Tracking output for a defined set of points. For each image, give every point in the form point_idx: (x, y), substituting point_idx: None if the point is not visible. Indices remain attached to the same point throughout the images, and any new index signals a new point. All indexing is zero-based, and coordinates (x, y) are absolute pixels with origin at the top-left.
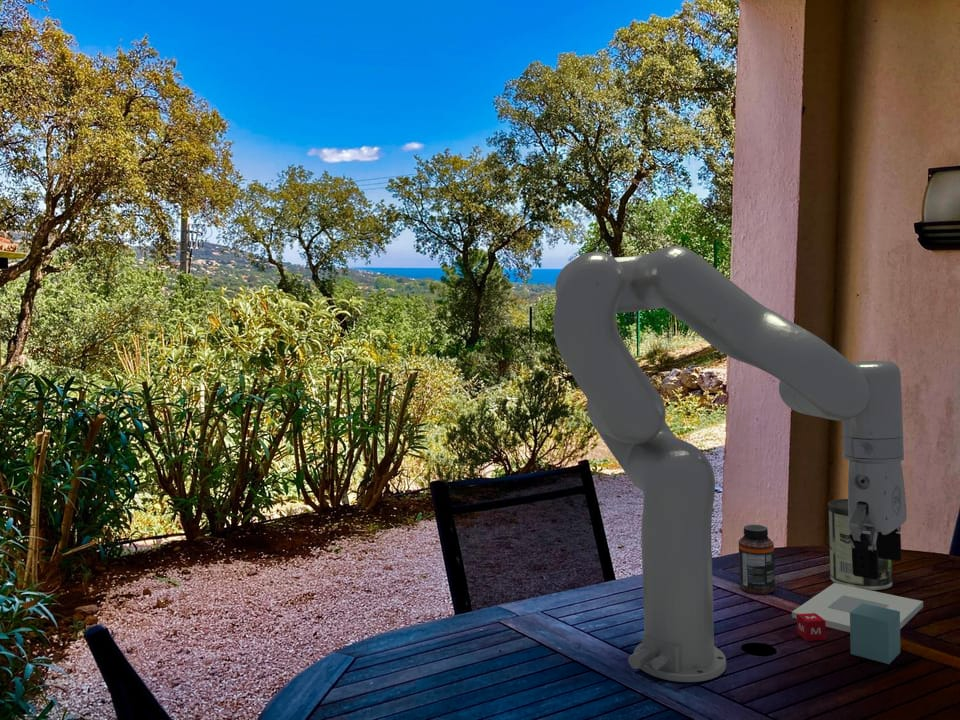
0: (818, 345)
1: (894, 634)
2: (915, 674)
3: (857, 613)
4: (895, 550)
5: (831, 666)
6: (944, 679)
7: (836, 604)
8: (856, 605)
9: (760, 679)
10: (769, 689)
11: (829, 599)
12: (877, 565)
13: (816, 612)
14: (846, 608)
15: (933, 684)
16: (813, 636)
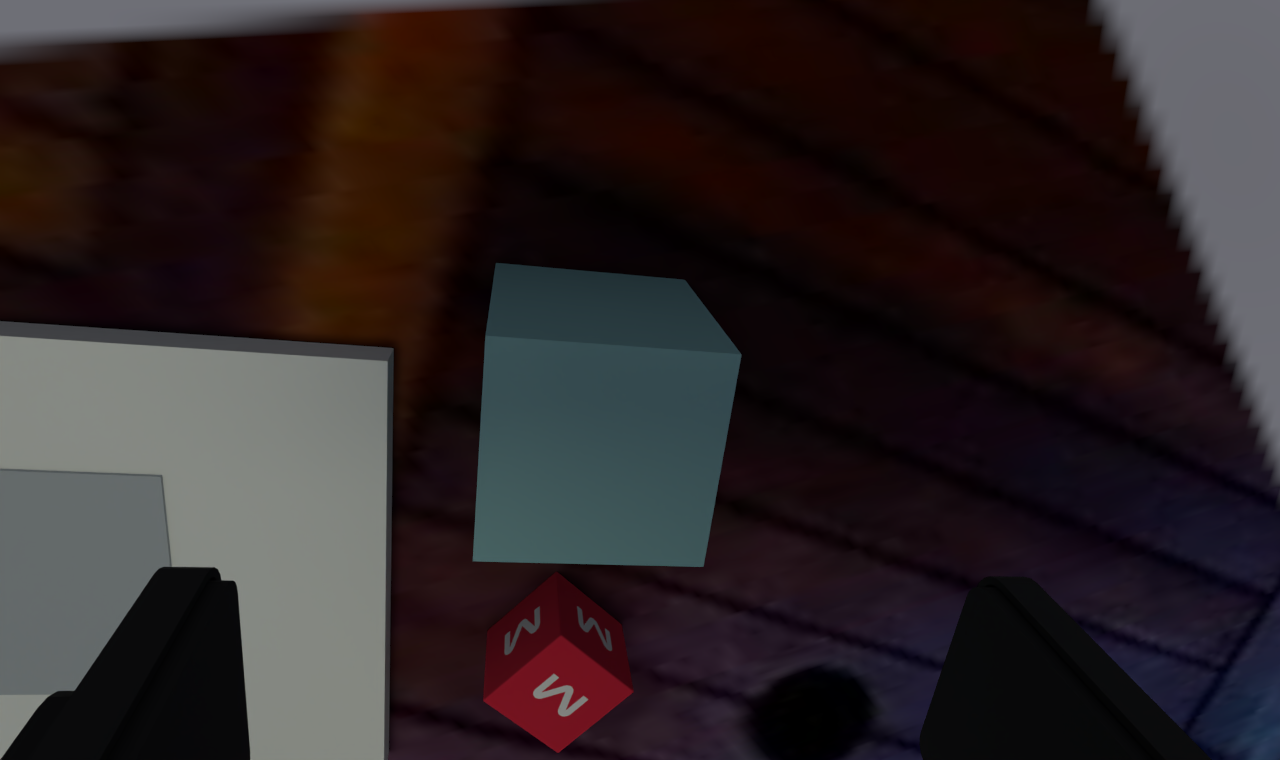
0: None
1: (604, 307)
2: (740, 148)
3: (691, 531)
4: (190, 701)
5: (841, 470)
6: (727, 7)
7: None
8: (25, 598)
9: None
10: (1140, 572)
11: None
12: (1116, 672)
13: (305, 704)
14: None
15: (817, 51)
16: (601, 618)
